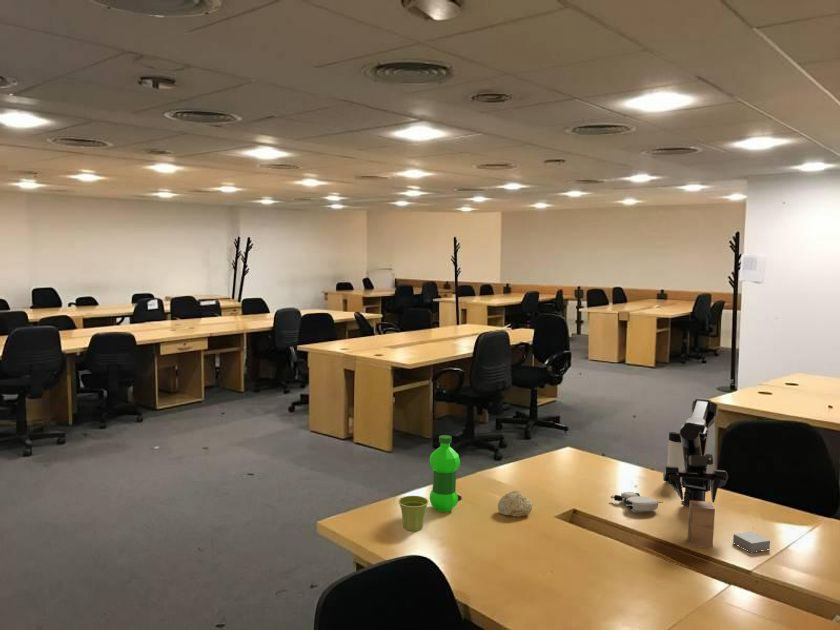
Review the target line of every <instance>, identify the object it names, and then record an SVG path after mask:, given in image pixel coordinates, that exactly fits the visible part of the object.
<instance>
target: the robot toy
mask: <svg viewBox="0 0 840 630" xmlns="http://www.w3.org/2000/svg"><path fill="white" fill-rule="evenodd" d="M610 498H611V499H614V501H617V502H622V503H623V504H624V506H625V507H626V508H627V509H628V510H629V509H630V510H631V512H633V513H636V514H637V513H640V512H653V511H655V510H656V509H658V507H659V504H664V501H658V500H657V499H655V498H653V497H650V496H646V495H645V496H644V495H643V496H642V495H641V494H640V493H639V492H634V491H625V492H621V495H618V494H614V495H611V496H610Z"/></svg>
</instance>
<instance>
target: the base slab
mask: <svg viewBox="0 0 840 630" xmlns="http://www.w3.org/2000/svg"><path fill="white" fill-rule="evenodd" d="M732 538H733V541H732V544H733V543H735V544H736V545H735V544H734V545H735V546H737V545H739V546H740V547H742V548H744V549H746V550H748V551H750V552H756V551H761V550H767V549H769V550H770V548H771V547H770V546H771V540H770V539H768V538H766V537H763V536H762V535H759V534H758V533H755V532H754V531H744V532H738V533H733V537H732ZM739 546H738V547H739ZM740 547H739V548H740ZM742 548H741V549H742ZM744 549H743V550H744ZM746 550H745V551H746ZM748 551H747V552H748ZM750 552H749V553H750ZM756 553H757V552H756Z"/></svg>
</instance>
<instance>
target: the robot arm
mask: <svg viewBox="0 0 840 630" xmlns="http://www.w3.org/2000/svg"><path fill="white" fill-rule="evenodd" d="M691 406H692V407H691V413H692V415H691V417H688V418H687V419H686V420H685V422H684V423H683V424H682V425H681V428H680V430H679V433H680V436H681V443H682V449H683V458H684V471H679V468H678V467H673V466H667V465H666V466H665V468H664V470H663V473H662V479H663V481H664V482H667V484H669V485H671V486H672V487H673V489H674V491H676V494H677V495H678V496H679V498H680V499H681V500H680V503H681V502H682V504H683V503H684V504H683V505H686V506H687V505H688V506H687V507H689V503H690V500H693V501H704V502H706V493H708V492H711V495H710V496H711V501H712V502H711V503H712V504H713V503H715V501H716V497H717V493H718V489H720V488H722V487H725V485H726V483H727V482H728V479H729V474H728V472H727V471H726V470H722V469H713V471H712V473H708V468H707V467H708V466H713V464H714V457H713V454H712V453H706V451H707V445H708V437H709V435H710V427H712V425H714V424H715V421H716V418H717V417H718V415H719V407H718V406H719V405H718V404H717V403H715V402H713V401H712V400H711V399H709V398H701V397H697V398H696V397H695V400H693V401H692V404H691ZM680 477H681V478H682V484H681V481H680ZM684 488H685V489H684ZM683 489H684V492H683Z"/></svg>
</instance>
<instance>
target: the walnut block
mask: <svg viewBox="0 0 840 630" xmlns="http://www.w3.org/2000/svg"><path fill="white" fill-rule="evenodd" d="M715 514H716V509H715V506H714V505H713V503H712V502H711V501H705V502H704V501H693V500H690V503H689V506H688V522H687V523H688V524H687V540H688V541H689V544H690V545H691V546H693V547H699V546H703V547H702V548H710V547H713V545H714V530H715V529H714V527H715ZM713 548H714V547H713Z"/></svg>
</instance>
